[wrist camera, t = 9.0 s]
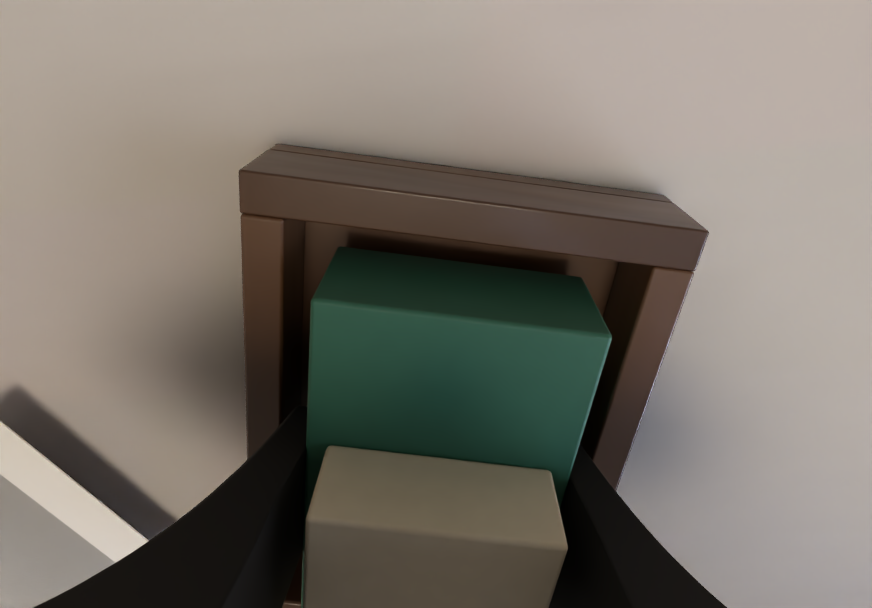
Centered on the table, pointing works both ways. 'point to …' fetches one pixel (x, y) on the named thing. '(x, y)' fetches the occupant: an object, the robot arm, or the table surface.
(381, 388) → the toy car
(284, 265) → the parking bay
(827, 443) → the table surface
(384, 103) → the table surface
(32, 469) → the touchpad
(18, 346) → the table surface
